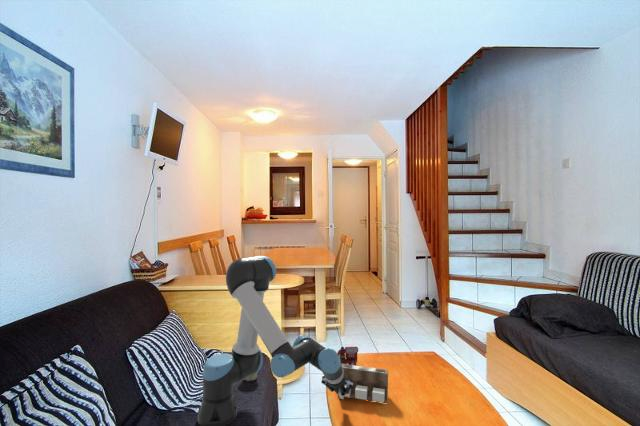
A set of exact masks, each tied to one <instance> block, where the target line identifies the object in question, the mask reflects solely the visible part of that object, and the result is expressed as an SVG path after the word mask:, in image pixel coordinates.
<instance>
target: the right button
mask: <svg viewBox="0 0 640 426" xmlns="http://www.w3.org/2000/svg"><path fill="white" fill-rule="evenodd" d="M384 399H385V389H380V388H373V392H372V401H376V402H382V403H384Z"/></svg>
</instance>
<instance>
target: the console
mask: <svg viewBox="0 0 640 426" xmlns="http://www.w3.org/2000/svg"><path fill="white" fill-rule="evenodd" d="M342 368H343V370H344V374H345V378H346V379H347V381H348V380H349V381H350V380H353V387H352V388H351V394H350V398H349V399H351V398H355V389H356V385H360V386H367V387H368V396H367V400H368V401H367V402H369V401H372V392H373V388H380V389H385V399H384V403H387V404H388V399H387V397H389V370H388V369H382V368H377V367H370V366H361V365H356V366H355V365H349V364H348V363H347V364H342ZM337 397H339V395H338V394H337ZM344 398H345V396H344ZM363 400H364V399H362V400H361V401H363Z"/></svg>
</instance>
